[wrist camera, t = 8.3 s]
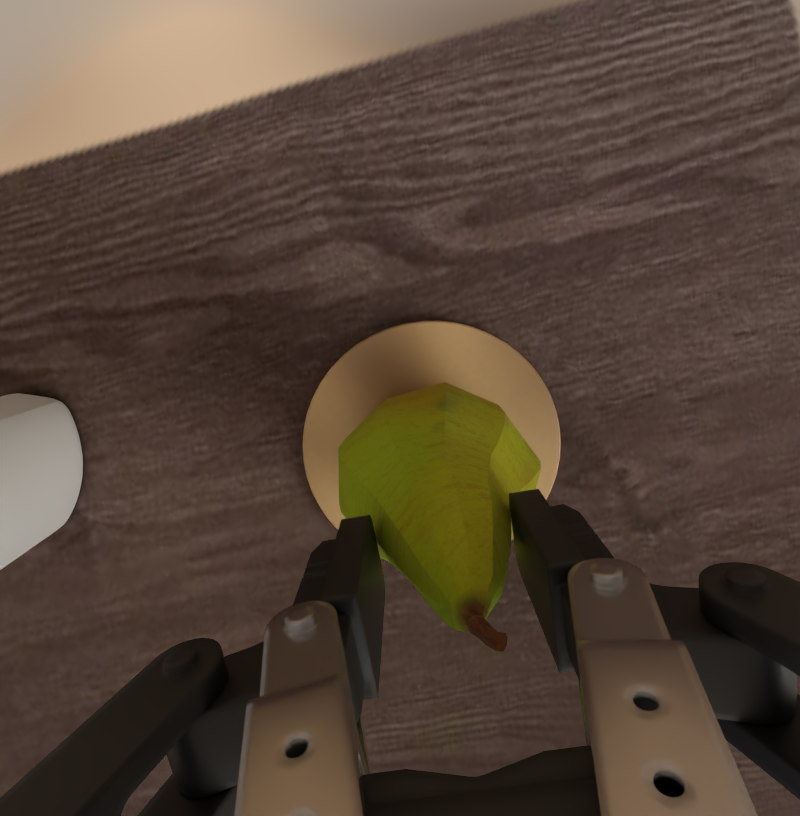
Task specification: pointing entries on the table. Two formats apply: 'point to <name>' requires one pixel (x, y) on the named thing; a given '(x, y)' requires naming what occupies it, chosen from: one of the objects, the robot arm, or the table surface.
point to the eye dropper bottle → (35, 471)
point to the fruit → (441, 496)
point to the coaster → (416, 369)
